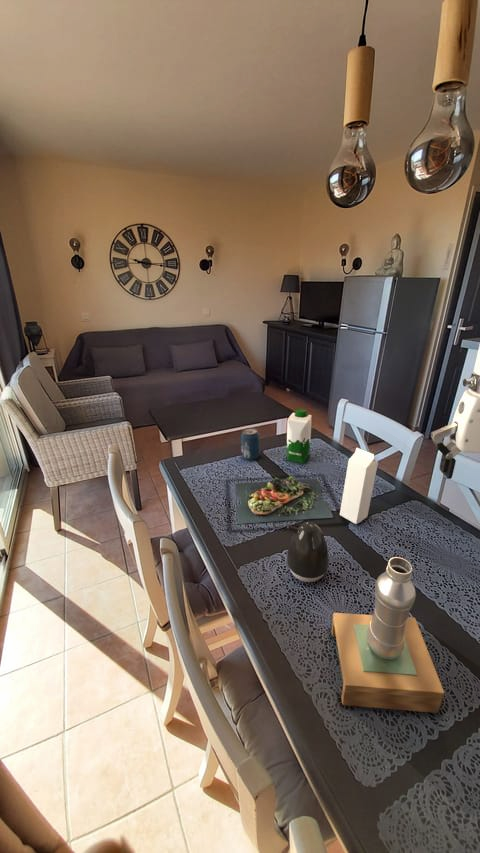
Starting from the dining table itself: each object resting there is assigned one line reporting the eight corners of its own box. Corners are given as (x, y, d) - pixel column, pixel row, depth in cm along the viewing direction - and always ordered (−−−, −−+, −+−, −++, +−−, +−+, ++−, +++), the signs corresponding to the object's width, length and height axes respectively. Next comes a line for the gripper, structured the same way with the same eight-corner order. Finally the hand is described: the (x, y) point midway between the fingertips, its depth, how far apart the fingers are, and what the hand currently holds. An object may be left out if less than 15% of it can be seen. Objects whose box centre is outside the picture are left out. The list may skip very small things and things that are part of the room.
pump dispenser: (286, 556, 96) (287, 509, 90) (326, 559, 95) (330, 512, 89) (284, 586, 87) (285, 537, 81) (328, 591, 86) (333, 541, 79)
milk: (356, 524, 106) (368, 457, 98) (339, 515, 111) (349, 449, 103) (367, 517, 110) (380, 452, 102) (350, 508, 114) (361, 444, 106)
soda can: (258, 453, 150) (257, 426, 145) (259, 461, 143) (259, 434, 138) (241, 454, 149) (240, 427, 144) (242, 462, 143) (241, 435, 138)
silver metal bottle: (405, 640, 68) (424, 558, 59) (399, 672, 62) (419, 588, 54) (369, 624, 71) (383, 545, 62) (361, 654, 65) (374, 572, 57)
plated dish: (230, 533, 105) (229, 513, 102) (226, 482, 131) (225, 464, 128) (347, 526, 107) (350, 505, 104) (320, 477, 133) (322, 459, 130)
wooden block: (410, 637, 74) (415, 616, 72) (437, 714, 62) (444, 692, 59) (331, 632, 76) (333, 611, 74) (342, 706, 63) (345, 684, 61)
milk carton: (311, 455, 147) (313, 409, 138) (305, 466, 139) (308, 418, 131) (290, 451, 150) (291, 407, 142) (283, 462, 142) (285, 415, 134)
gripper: (452, 393, 56) (432, 485, 63) (572, 392, 55) (538, 487, 61) (432, 379, 63) (416, 464, 70) (539, 378, 61) (511, 465, 68)
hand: (473, 475), depth 66 cm, fingers open, 9 cm apart
